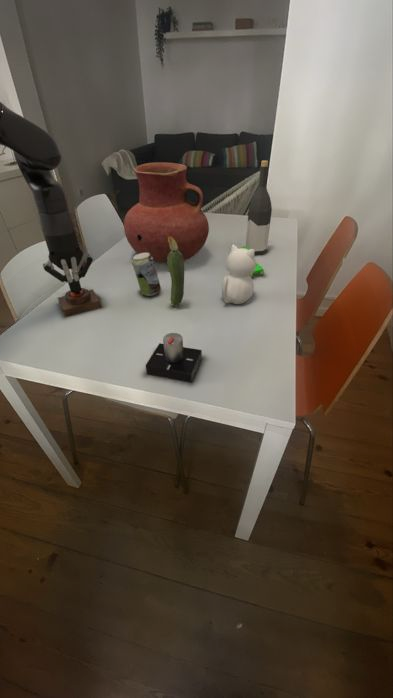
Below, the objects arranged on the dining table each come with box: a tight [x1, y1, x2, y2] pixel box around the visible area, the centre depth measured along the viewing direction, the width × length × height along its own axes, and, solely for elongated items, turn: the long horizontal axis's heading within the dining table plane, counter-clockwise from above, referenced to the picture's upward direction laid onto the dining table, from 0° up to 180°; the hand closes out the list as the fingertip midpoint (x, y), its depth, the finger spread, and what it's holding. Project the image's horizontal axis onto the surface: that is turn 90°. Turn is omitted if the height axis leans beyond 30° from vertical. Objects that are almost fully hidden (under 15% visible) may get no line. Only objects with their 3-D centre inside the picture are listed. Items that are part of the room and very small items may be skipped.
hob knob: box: [162, 332, 184, 363], centre depth 66 cm, size 4×4×5 cm
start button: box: [70, 290, 84, 297], centre depth 89 cm, size 4×4×2 cm
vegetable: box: [166, 237, 185, 308], centre depth 83 cm, size 4×4×20 cm
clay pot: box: [123, 161, 210, 264], centre depth 109 cm, size 30×29×30 cm
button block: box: [57, 287, 102, 318], centre depth 90 cm, size 10×8×4 cm
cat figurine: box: [221, 243, 257, 305], centre depth 87 cm, size 9×12×15 cm
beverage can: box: [131, 253, 162, 297], centre depth 93 cm, size 6×7×12 cm
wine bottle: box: [245, 160, 273, 256], centre depth 112 cm, size 8×8×30 cm
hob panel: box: [145, 342, 203, 383], centre depth 69 cm, size 10×8×3 cm
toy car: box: [237, 246, 265, 278], centre depth 105 cm, size 11×7×7 cm, turn 28°
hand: (76, 292), depth 88 cm, fingers closed
